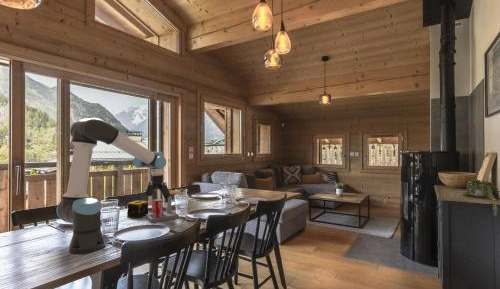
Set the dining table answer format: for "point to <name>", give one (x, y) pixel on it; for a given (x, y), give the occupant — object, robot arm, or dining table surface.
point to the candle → (137, 209)
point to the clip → (177, 192)
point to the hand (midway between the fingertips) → (157, 206)
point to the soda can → (157, 208)
